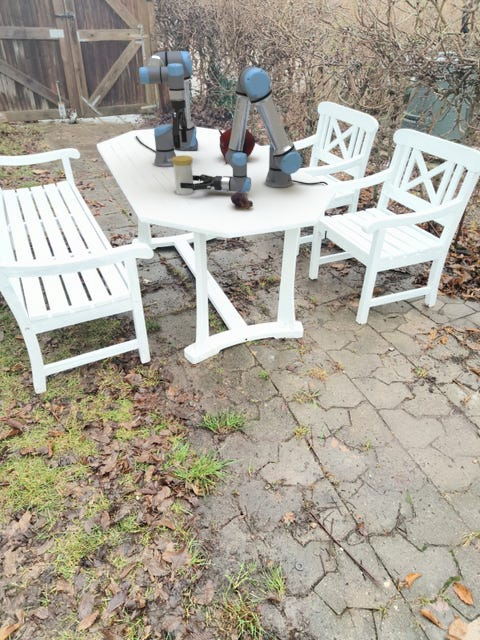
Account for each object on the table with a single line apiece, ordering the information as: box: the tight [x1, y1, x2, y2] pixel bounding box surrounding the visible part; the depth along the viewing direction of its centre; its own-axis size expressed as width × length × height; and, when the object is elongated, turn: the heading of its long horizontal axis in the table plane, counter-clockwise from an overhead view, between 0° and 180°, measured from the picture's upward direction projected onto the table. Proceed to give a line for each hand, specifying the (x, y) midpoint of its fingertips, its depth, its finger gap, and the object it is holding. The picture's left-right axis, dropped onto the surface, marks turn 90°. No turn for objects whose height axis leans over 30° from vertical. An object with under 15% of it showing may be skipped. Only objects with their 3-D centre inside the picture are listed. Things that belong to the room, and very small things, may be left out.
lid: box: [172, 155, 194, 165], centre depth 239 cm, size 11×11×2 cm
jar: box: [173, 163, 195, 196], centre depth 243 cm, size 10×10×18 cm
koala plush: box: [175, 137, 199, 151], centre depth 321 cm, size 17×18×20 cm
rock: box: [230, 191, 254, 209], centre depth 225 cm, size 12×9×10 cm
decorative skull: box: [218, 127, 257, 165], centre depth 296 cm, size 21×24×25 cm
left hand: (181, 145), depth 234 cm, fingers open, 12 cm apart
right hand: (184, 181), depth 244 cm, fingers open, 13 cm apart
